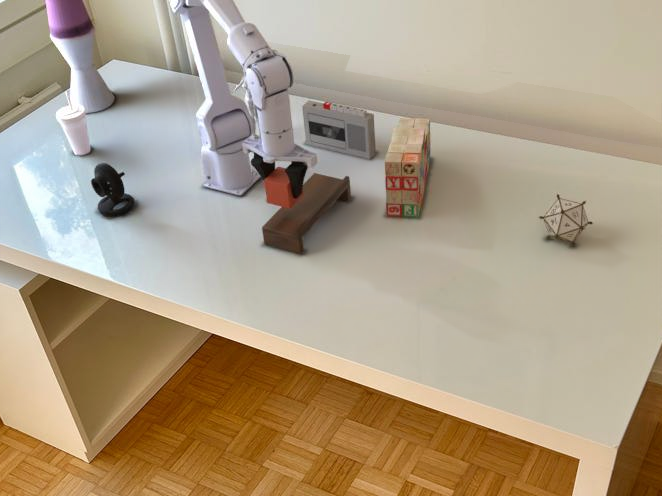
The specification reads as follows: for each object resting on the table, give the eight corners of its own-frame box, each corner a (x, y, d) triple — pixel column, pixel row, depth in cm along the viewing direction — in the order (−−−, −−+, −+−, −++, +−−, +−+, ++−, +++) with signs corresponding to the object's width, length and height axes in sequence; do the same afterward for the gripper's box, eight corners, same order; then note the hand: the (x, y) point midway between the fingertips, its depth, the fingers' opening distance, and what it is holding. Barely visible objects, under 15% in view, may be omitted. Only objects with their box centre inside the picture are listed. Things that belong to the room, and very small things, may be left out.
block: (267, 203, 162) (263, 180, 159) (281, 189, 165) (277, 166, 162) (290, 209, 160) (287, 185, 157) (303, 194, 163) (301, 171, 160)
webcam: (90, 209, 179) (77, 166, 172) (119, 192, 182) (107, 150, 175) (113, 222, 175) (101, 179, 168) (142, 205, 178) (131, 162, 171)
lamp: (63, 113, 210) (9, -62, 182) (79, 91, 218) (29, -80, 190) (105, 113, 208) (57, -64, 181) (120, 92, 216) (76, -81, 188)
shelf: (264, 244, 165) (260, 222, 162) (316, 189, 177) (313, 168, 174) (300, 254, 162) (298, 232, 158) (351, 198, 174) (349, 176, 170)
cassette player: (306, 144, 190) (301, 101, 183) (312, 138, 192) (308, 95, 185) (369, 158, 184) (367, 115, 177) (375, 152, 185) (373, 109, 178)
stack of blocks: (400, 157, 183) (399, 103, 175) (430, 158, 182) (431, 104, 173) (386, 216, 168) (384, 160, 160) (418, 218, 167) (418, 161, 158)
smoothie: (102, 147, 197) (85, 89, 187) (83, 161, 193) (64, 102, 183) (82, 141, 200) (64, 83, 190) (62, 154, 196) (43, 96, 186)
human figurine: (231, 137, 195) (218, 60, 183) (240, 129, 197) (228, 52, 185) (276, 148, 190) (266, 69, 178) (285, 140, 192) (276, 61, 180)
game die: (561, 261, 160) (553, 244, 151) (535, 226, 163) (526, 207, 154) (604, 232, 158) (598, 213, 149) (577, 197, 161) (570, 176, 152)
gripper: (228, 129, 153) (240, 195, 162) (299, 144, 147) (307, 212, 157) (250, 110, 157) (260, 176, 167) (320, 125, 151) (326, 192, 161)
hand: (284, 192), depth 162 cm, fingers closed on block, 5 cm apart
